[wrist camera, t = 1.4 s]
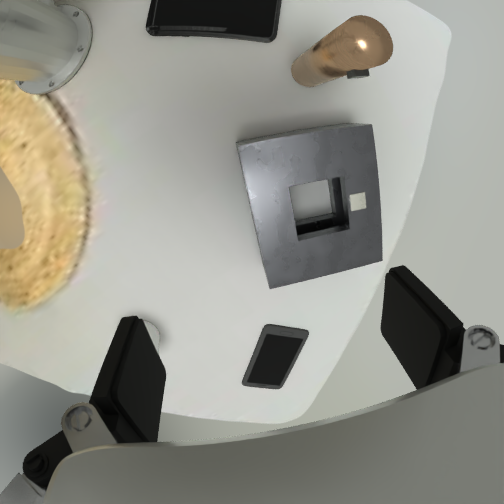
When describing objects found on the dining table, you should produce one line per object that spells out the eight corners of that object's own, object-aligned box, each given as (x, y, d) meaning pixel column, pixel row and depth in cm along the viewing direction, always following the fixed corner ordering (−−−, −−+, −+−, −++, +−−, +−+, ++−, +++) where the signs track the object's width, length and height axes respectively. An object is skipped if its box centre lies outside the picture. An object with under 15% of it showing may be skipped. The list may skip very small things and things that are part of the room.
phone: (156, -19, 23) (283, -11, 25) (157, -15, 24) (281, -8, 26) (144, 35, 26) (275, 43, 28) (146, 37, 27) (274, 45, 29)
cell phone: (309, 328, 45) (310, 331, 45) (280, 387, 51) (280, 390, 50) (264, 321, 44) (265, 324, 43) (240, 383, 49) (240, 386, 48)
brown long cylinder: (288, 57, 29) (335, 14, 15) (320, 54, 29) (385, 16, 15) (295, 92, 31) (350, 73, 17) (328, 89, 31) (399, 72, 17)
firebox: (235, 142, 33) (238, 146, 27) (349, 122, 33) (372, 124, 27) (263, 265, 40) (270, 290, 34) (362, 241, 40) (383, 261, 34)
